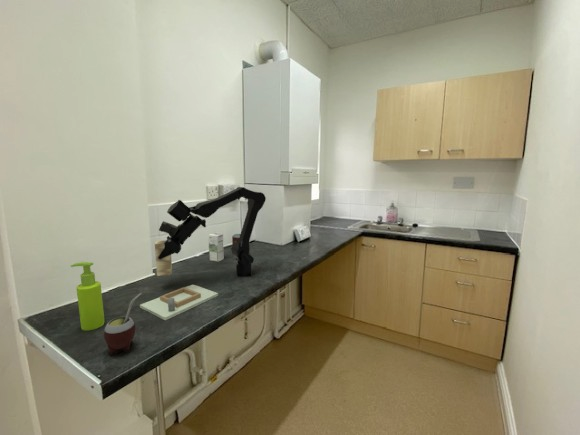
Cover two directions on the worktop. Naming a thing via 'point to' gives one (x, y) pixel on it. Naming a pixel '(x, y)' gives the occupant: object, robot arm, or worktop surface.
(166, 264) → the pine post
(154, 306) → the seat plate
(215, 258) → the syrup box
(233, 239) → the soda can
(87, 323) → the soap dispenser
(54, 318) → the worktop surface
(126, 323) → the mate gourd
